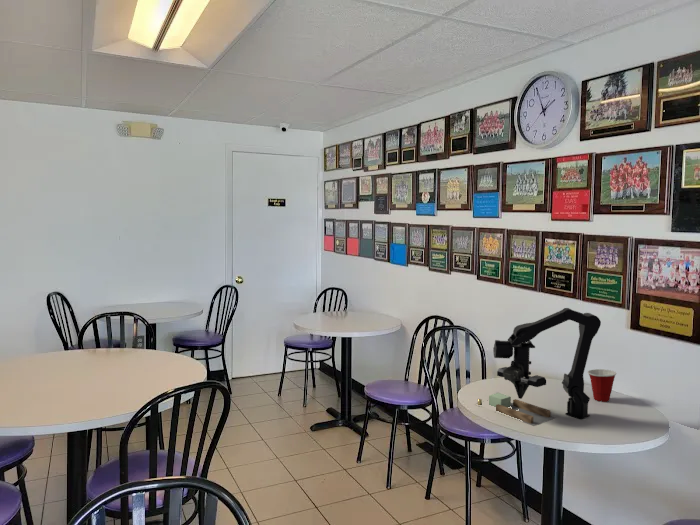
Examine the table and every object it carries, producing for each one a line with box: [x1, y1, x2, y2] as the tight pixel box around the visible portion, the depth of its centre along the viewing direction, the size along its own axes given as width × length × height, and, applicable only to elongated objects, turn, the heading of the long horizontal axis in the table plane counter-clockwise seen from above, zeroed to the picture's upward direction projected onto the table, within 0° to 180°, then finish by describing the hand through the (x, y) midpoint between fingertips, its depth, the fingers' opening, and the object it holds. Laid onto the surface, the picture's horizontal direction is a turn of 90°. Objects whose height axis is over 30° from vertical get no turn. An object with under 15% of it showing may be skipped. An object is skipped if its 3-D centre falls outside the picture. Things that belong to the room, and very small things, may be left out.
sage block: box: [488, 392, 512, 407], centre depth 214 cm, size 6×6×4 cm
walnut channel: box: [496, 399, 552, 424], centre depth 205 cm, size 16×12×2 cm
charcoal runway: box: [511, 402, 557, 427], centre depth 208 cm, size 28×14×1 cm, turn 35°
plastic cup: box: [587, 368, 617, 403], centre depth 221 cm, size 11×11×12 cm
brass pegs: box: [477, 398, 483, 405], centre depth 218 cm, size 2×14×2 cm, turn 125°
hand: (520, 398), depth 205 cm, fingers closed
